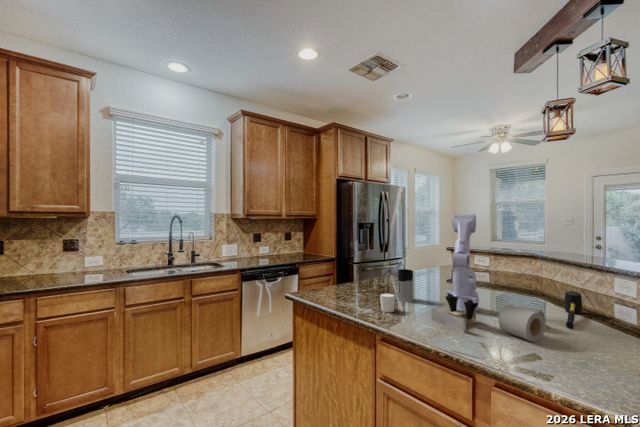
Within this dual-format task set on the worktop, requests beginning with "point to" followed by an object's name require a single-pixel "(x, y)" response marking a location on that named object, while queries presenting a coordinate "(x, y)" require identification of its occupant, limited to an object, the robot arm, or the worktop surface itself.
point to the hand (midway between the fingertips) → (461, 316)
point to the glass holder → (404, 285)
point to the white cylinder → (531, 309)
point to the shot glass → (387, 302)
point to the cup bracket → (448, 319)
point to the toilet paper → (522, 323)
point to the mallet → (572, 306)
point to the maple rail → (463, 315)
